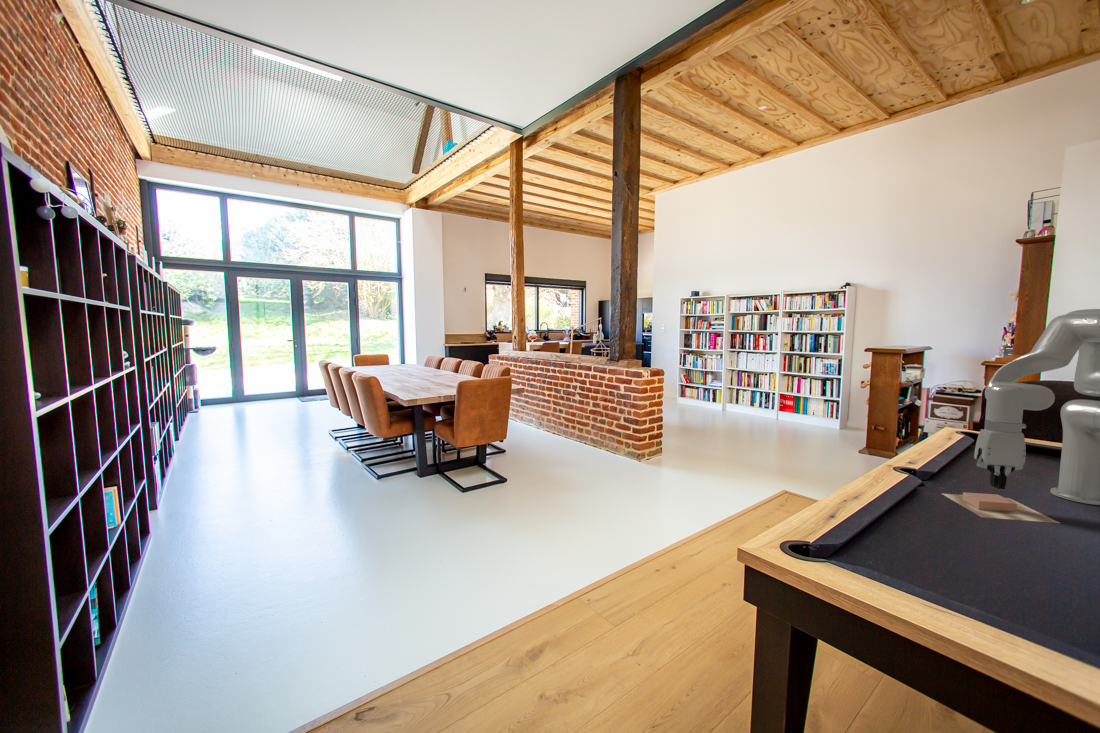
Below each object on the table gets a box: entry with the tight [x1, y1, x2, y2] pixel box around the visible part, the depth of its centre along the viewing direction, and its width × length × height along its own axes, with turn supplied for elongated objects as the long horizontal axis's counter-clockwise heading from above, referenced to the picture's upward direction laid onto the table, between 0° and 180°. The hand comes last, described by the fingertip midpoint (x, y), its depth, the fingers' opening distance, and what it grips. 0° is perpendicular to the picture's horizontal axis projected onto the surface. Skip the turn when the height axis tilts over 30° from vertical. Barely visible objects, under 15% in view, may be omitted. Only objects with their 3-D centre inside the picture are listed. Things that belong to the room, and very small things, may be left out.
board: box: [941, 493, 1061, 524], centre depth 129 cm, size 18×18×1 cm
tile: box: [962, 491, 1017, 512], centre depth 130 cm, size 3×7×9 cm
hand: (997, 487), depth 129 cm, fingers closed
